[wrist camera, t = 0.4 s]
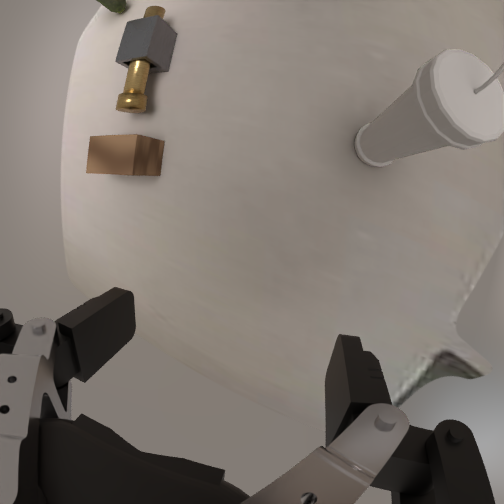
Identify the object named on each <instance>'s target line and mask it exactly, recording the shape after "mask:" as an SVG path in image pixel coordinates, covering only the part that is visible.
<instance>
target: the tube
mask: <svg viewBox="0 0 504 504" xmlns="http://www.w3.org/2000/svg"><path fill="white" fill-rule="evenodd" d="M164 14H165V9H164V8H162V7H159V6H150V7H148V8H147V9H146V11H145V14H144V17H143V18H146V17H150V16H155V15H159V16H160V17H161V18H162V19H163V17H164ZM150 64H151V63H150V62H149V61H147V60H146V59H138V60H132V61H130V65H129V69H128V73H127V78H126V82H125V87H124V91H123V93H121V94H119V95H118V100H117V105H116V110H118V111H121V112H128V113H141V112H145V109H146V104H147V98H148V97H147V96H146V95H144V92H145V87H146V82H147V78H148V73H149V69H150Z"/></svg>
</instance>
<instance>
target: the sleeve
mask: <svg viewBox="0 0 504 504" xmlns="http://www.w3.org/2000/svg"><path fill="white" fill-rule="evenodd" d="M176 37H177V33H176V32H175V31H174V30H173V29H172V28H171V27H170V26H169V25H168V24H167V23H166V22H165V21H164V20H163V19H162V18H161V17H160V16H159V15H155V16H150V17H146V18H141V19H137V20H133V21H129V22H127V25H126V28H125V31H124V34H123V37H122V40H121V43H120V47H119V50H118V54H117V57H116V61H115V62H117V63H119V64H121V65H123V66H125V67H126V68H128V69H129V65H130V61H132V60H138V59H146V60H147V61H149V62H150V63H151V64H150V69H149V73H157V72H168V71H169V66H170V62H171V58H172V53H173V49H174V45H175V41H176Z"/></svg>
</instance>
